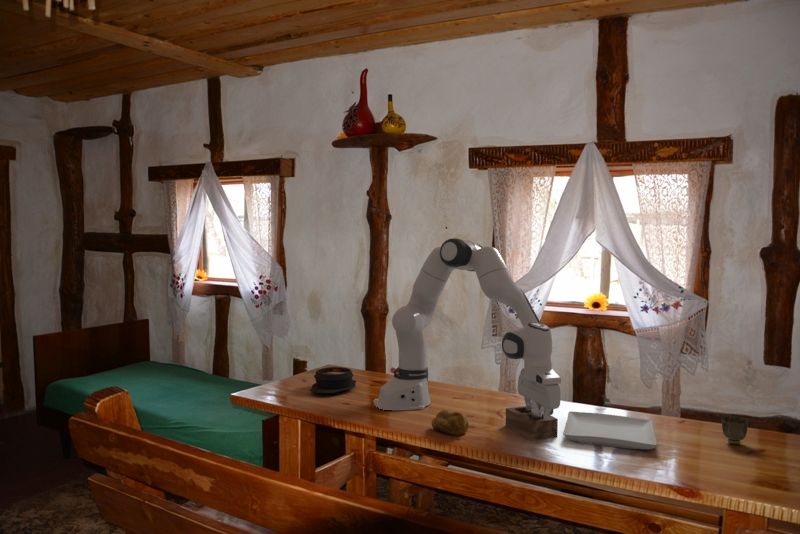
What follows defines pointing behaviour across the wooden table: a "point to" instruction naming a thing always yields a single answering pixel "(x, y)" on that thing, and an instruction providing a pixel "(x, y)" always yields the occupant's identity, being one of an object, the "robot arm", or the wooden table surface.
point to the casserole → (333, 380)
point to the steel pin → (536, 410)
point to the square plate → (610, 430)
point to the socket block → (530, 424)
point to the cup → (734, 429)
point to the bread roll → (450, 422)
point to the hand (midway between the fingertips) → (537, 415)
